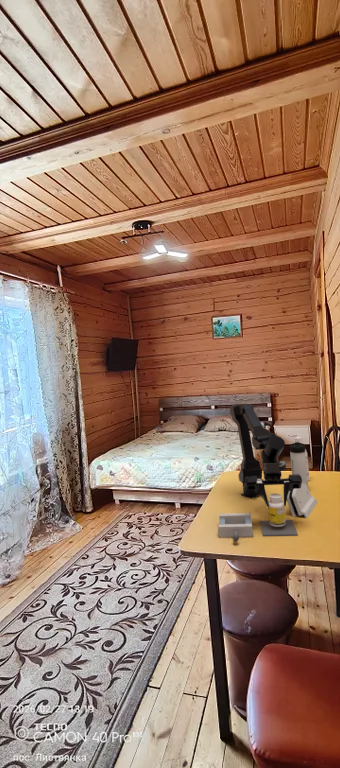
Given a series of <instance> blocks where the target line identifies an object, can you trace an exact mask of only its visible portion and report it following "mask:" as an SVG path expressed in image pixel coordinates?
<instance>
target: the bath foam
mask: <svg viewBox="0 0 340 768" xmlns="http://www.w3.org/2000/svg"><path fill="white" fill-rule="evenodd" d="M295 442H299V443H303V440H302V437H301V436H295V437H294V443H295ZM305 451H306V452H305V453H306V464H307V477H308V481H310V470H309V456H308V452H307V449H305Z"/></svg>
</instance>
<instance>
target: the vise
mask: <svg viewBox="0 0 340 768" xmlns="http://www.w3.org/2000/svg"><path fill="white" fill-rule="evenodd" d="M218 520H219V521H218V526H217V528H218V535H219V536H218V538H232V540H233V541H234V542H238V540H239V539H240V538H253V537H254V532H253V523H252V516H251V512H241V513H240V512H239V513H238V512H234V513H232V512H230V513H219V514H218Z"/></svg>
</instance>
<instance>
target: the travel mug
mask: <svg viewBox="0 0 340 768" xmlns="http://www.w3.org/2000/svg"><path fill="white" fill-rule="evenodd" d="M289 449H290V451H289V452H290V453H289V454H290V466H291V467H290V468H291V469H290V470H291V475H292V474H299V475H300V476H301V478H302V483H305V484H306V486H307V488H308V489H309V480H308V477H307V464H306V453H305V452H307V450H306V444H305V443H303V442H302V443H299V442H295V441H294V442H293V443H291V444H289ZM305 450H306V451H305Z"/></svg>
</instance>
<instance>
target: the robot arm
mask: <svg viewBox="0 0 340 768" xmlns="http://www.w3.org/2000/svg"><path fill="white" fill-rule="evenodd" d="M229 413H230V416H231V418H232V421H233V422H234V423H235V425H237V431H238V438H239V443H240V449H241V454H242V461H241V463H240V470H239V473H238V480H239V482H240V483H242V490H243V491H242V493H240V496H242V497H243V496H244V497H246V498H250V499H254V498H257V497H258V496H261V498H262V500H263V501H264V503H265V505H266V507H267V508H268V502H269V500H268V496H267V493H266V487H265V486H274V485H275V486H277V485H282V486H283V502H284V507H287V503H288V502H287V496H288V493H289V491H292V489H299V488H301V484H302V478H301V476H300V475H299V474H292V473H291V474H288V478H282V476H283V475H282V472H286V470H287V465H286V461H285V460H279V459H278V457H279V456H280V455H281V453H282V452H283V450H284V448H285V446H286V442H285V439H283V438H282V437H281V436H278V435H277V434H276V433H274V432H273V433H271V432H270V431H269V429H267V428H265V427H264V426H263V425H262V423H261V421H260V419H259V417H258V415H257V414H256V412H255V409H254V405H253V404H250V403H248V404H247V403H238V404H233V405H231V407H229ZM251 435H252V437H251ZM254 449H255V450H256V451H257V450H258V451H261V450H262V451H261V452H260V459H261V462H260V461H259V460H258V459H256V457H255V454H254ZM260 463H261V464H260ZM261 465H262V467H261Z"/></svg>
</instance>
